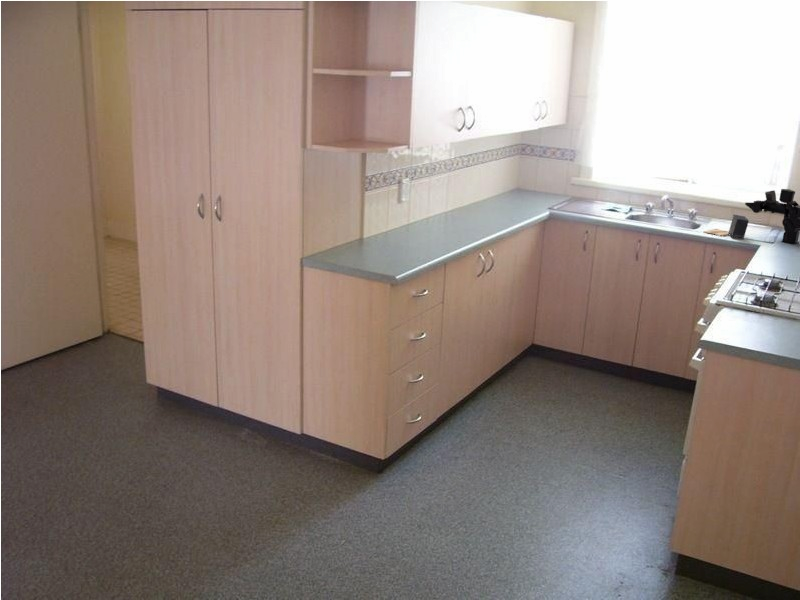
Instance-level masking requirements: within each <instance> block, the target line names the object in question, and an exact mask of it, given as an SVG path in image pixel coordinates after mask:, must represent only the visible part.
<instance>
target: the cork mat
mask: <svg viewBox="0 0 800 600" xmlns="http://www.w3.org/2000/svg"><path fill="white" fill-rule="evenodd" d="M704 232H705V233H704ZM728 232H729V230H725V229H724V230H723V229H720V228H713V229H707V230H704V231H703V233H704V234H708V233H710V234H709V235H713V234H715V235H714V236H717V235H720V236H719V237H722V236H723V237H726V236H725V235H728V236H730V235H729V233H728Z"/></svg>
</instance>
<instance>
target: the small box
mask: <svg viewBox="0 0 800 600" xmlns="http://www.w3.org/2000/svg"><path fill="white" fill-rule="evenodd" d="M748 224H749V219H748V218H747V217H746V216H744V215H739V214H733V215H732V219H731V222H730V227H729V229H728V233H729V234H730V235H729V236H730V237H731V238H733V239H740V240H744V239H745V236H746V232H747V228H748Z"/></svg>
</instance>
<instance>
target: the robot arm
mask: <svg viewBox="0 0 800 600" xmlns="http://www.w3.org/2000/svg"><path fill="white" fill-rule="evenodd" d="M764 194H765V199H764V200H754V201H753V202H745V204H744V205H745V206H746V207H748V209H750V210H751V211H752V212H753V213H754V214H759V213H762V212H763V213H770V214H778V215H782V216H783V219H782V222H781V224H782V226H783V229H784V232H783V235H782V239H781V243H786V244H787V243H788V244H791V245H796V244H799V243H800V241H799V238H800V237H799V236H800V204H799V203H798V202H797V201H796V200H794V199H795V198H794V197H795V195H796V190H794V189H793V190H792V189H789V188H781V189H780V194H779V201H778V200H777V195H776V190H769V191H765V193H764Z"/></svg>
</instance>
